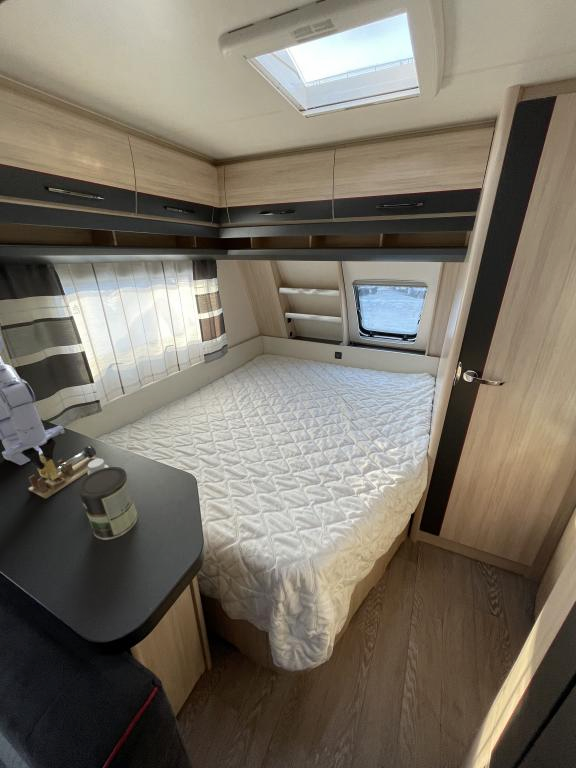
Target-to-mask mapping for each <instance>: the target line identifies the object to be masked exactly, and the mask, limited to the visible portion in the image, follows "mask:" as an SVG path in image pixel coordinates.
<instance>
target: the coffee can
mask: <svg viewBox="0 0 576 768" xmlns="http://www.w3.org/2000/svg"><path fill="white" fill-rule="evenodd" d="M76 490H77V494H78V495H79V497H80V500H81V502H82V505H83V508H84V510H85V513H86V515H87V518H88V520H89V524H90V526H91V529H92V532H93V534H94V537H96V538H97V539H99V540H102V541H108V540H115V539H117V538H119V537H121V536H124V534H126V533H128V532H129V531H130V530H131V529H132V528H133V527H134V526H135V525H136V523H137V521H138V515H139V514H138V512H137V509H136V506H135V502H134V499H133V494H132V492H131V489H130V485H129V481H128V475H127V472H126V470H125V469H124V468H122V467H118V466H108V468H103V469H100V470H97V471H95V472H93V473H91V474H89V475H88V474H87V475H86V476H85V477H84V478H82V479H81V481H80V482H79V484H78V486H77V489H76Z"/></svg>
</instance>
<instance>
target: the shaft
mask: <svg viewBox="0 0 576 768" xmlns="http://www.w3.org/2000/svg"><path fill="white" fill-rule="evenodd" d="M95 449H96V448H94V447H93V446H92V445H87V446H84V447H83V449H82V451H81V452H80V453H78V454H76V455H74V456H73V457H71V458H69V459H67V460H65V461H63V462H64V463H62V464H61V466H60V467H59V466H58V467H55V468H56V470H57V472H58V473H59V472H61V471H63V470H67V468H66V466H65V465H66V464H68V463H71V465H72V466H74V465H75V464H77V463H79V462H80V461H82V460H84V459H85V458H87V457H88V458H92V457H96V455H97V452H96V450H95Z"/></svg>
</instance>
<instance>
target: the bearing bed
mask: <svg viewBox="0 0 576 768" xmlns="http://www.w3.org/2000/svg"><path fill="white" fill-rule="evenodd" d="M95 459H101V458H99V457H97V456H94V457H92V458H88V457H87V458H85V459H84V460H82V461H80V462H79V463H77V464H75V465H74V466H72V465H71V463H68V464H66V465H65V466H66V468H67V470H63V471H61V472H59V473H58V475H59V477H57V478H56V479H54V480H49V479H47V478H44V477H42V476H40V478H37V476H36V475H35V474H32V475H30V476H29V477H28V480H29V482H30V484H31V486H30V487H28V490H29V491H30V492H32V493H33V494H35V495H38V496H39V497H42V498H43V499H46V500H47V499H48V498H49V497H51V496H52V495H54V494H55V493H57V492H59V491H61V490H62V489H64V488H65V487H67V486H68V485H70V484H71V483H72V482H74V481H76V480H77V479H80V478H81V477H82V476H84V475H85V474H86V473H87V474H88V471H89V469H88V464H89V463H90V462H91V461H93V460H95ZM56 462H57V465H58V467H60V466H61V464H62V463H64V462H65V461H64V460H63V459H62V458H61V459H59V460H58V461H56Z"/></svg>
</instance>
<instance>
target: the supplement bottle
mask: <svg viewBox="0 0 576 768" xmlns="http://www.w3.org/2000/svg"><path fill="white" fill-rule="evenodd" d="M108 467H109V465H108V464H105V460H104V459H103V458H100V459H95V460H93V461H91V462H90V463H89V464H88V469H89V471H88V472H87V476H88V475H89V474H91V473H93V472H95V471H97V470H100V469H103V468H108Z"/></svg>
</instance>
